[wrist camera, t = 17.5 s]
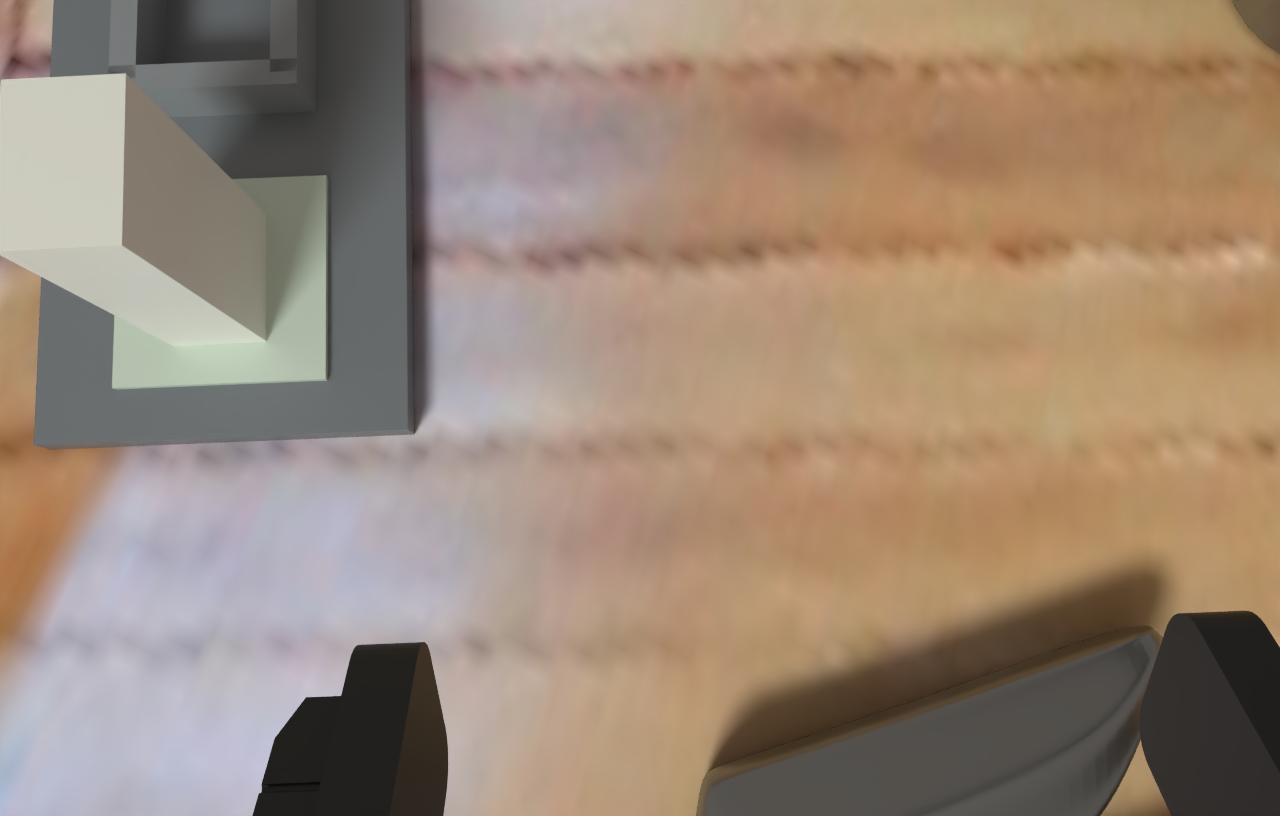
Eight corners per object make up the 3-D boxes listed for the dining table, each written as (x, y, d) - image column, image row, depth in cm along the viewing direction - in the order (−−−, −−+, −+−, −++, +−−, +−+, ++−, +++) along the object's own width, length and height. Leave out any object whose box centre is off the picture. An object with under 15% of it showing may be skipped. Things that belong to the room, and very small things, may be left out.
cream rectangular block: (266, 214, 44) (126, 73, 32) (266, 341, 43) (121, 245, 31) (175, 219, 44) (1, 79, 32) (173, 346, 43) (-6, 251, 31)
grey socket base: (409, -135, 48) (382, -216, 43) (414, 434, 44) (385, 414, 39) (74, -120, 48) (10, -201, 43) (49, 449, 44) (-24, 431, 39)
